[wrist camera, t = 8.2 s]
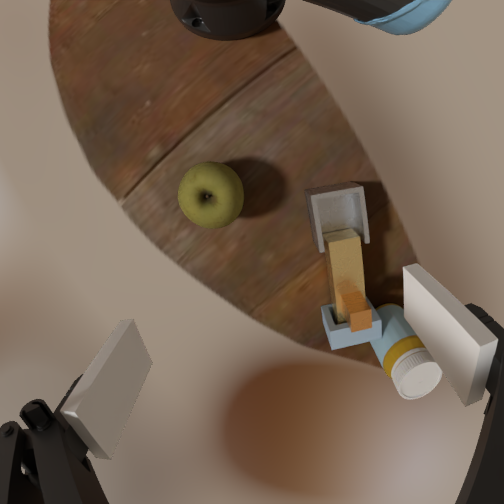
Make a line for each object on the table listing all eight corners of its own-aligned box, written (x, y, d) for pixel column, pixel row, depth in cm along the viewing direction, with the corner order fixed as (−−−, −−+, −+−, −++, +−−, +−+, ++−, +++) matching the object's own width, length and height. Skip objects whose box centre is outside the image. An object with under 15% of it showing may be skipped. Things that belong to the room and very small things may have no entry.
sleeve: (304, 189, 41) (310, 195, 36) (351, 181, 40) (363, 186, 35) (313, 240, 43) (319, 252, 38) (358, 231, 42) (369, 242, 38)
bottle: (400, 294, 45) (445, 349, 31) (406, 329, 47) (445, 387, 33) (359, 311, 46) (392, 373, 32) (368, 345, 48) (397, 409, 34)
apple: (223, 148, 39) (216, 149, 33) (257, 200, 41) (257, 211, 35) (175, 181, 41) (159, 188, 34) (209, 230, 43) (200, 247, 36)
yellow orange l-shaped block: (322, 233, 42) (337, 256, 33) (351, 228, 41) (373, 249, 33) (333, 318, 46) (347, 354, 37) (359, 312, 45) (377, 347, 37)
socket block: (321, 306, 46) (329, 331, 39) (366, 296, 45) (381, 319, 39) (323, 323, 47) (331, 349, 40) (367, 313, 46) (381, 338, 40)
